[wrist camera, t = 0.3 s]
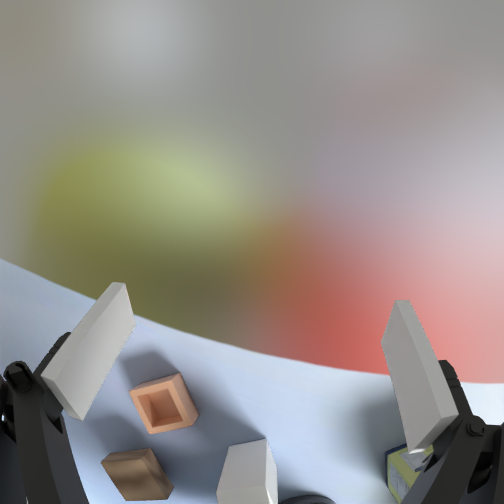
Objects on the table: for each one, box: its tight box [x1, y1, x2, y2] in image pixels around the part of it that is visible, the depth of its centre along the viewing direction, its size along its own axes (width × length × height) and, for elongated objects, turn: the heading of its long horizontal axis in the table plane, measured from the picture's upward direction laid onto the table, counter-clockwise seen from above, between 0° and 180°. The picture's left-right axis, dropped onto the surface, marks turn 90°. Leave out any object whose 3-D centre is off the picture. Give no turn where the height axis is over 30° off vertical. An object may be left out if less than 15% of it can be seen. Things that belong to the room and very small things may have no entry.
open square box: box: [129, 373, 199, 434], centre depth 44 cm, size 9×9×5 cm
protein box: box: [385, 443, 433, 504], centre depth 34 cm, size 10×16×16 cm
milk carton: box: [216, 439, 278, 504], centre depth 35 cm, size 7×7×19 cm
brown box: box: [101, 448, 174, 501], centre depth 40 cm, size 10×10×4 cm
